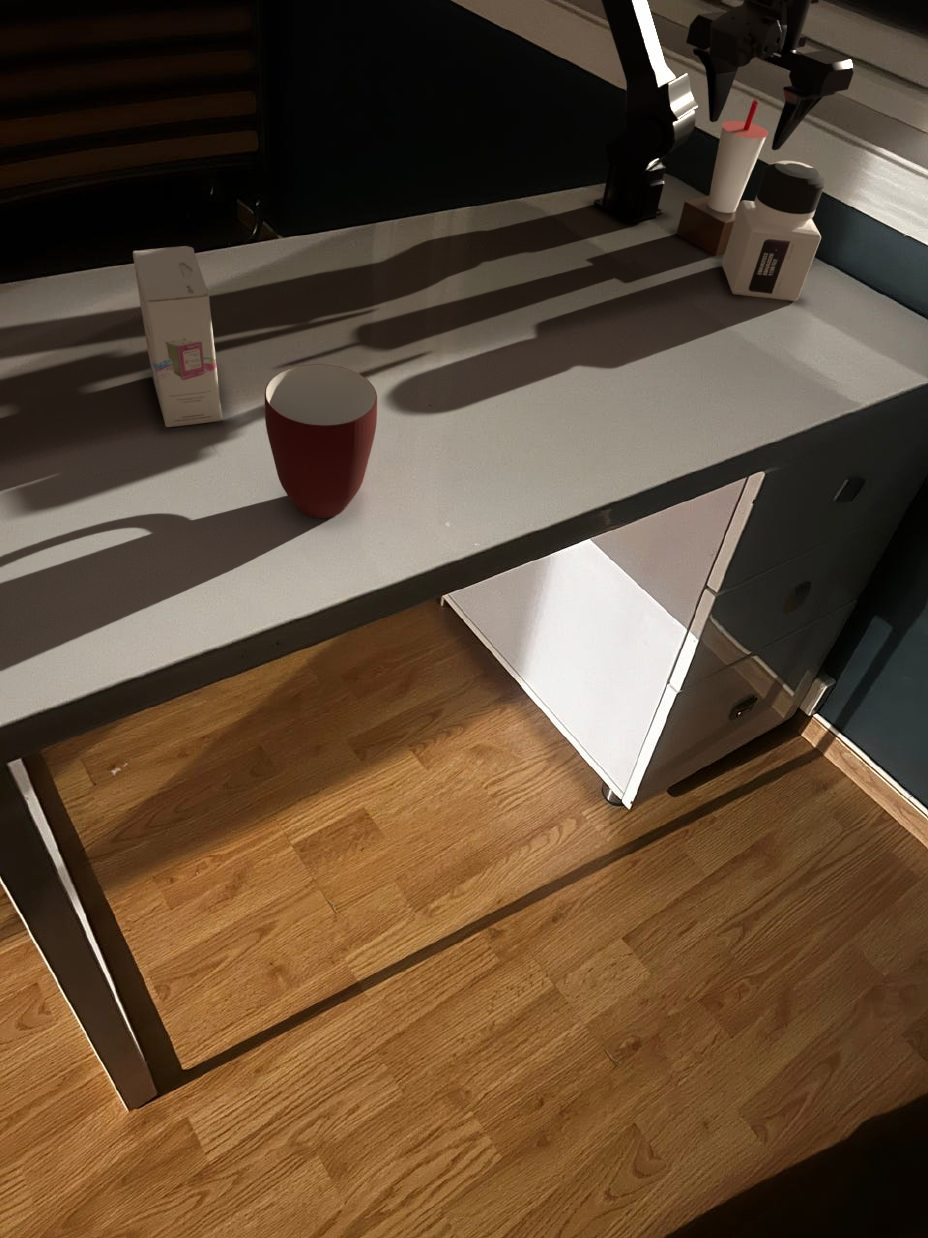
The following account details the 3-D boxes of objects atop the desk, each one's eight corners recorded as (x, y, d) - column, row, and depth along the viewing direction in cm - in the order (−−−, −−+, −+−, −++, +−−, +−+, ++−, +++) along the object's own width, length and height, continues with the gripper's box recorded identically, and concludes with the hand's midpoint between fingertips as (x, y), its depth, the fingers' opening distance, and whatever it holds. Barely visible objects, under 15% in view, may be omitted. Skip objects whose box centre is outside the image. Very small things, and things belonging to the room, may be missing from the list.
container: (798, 302, 111) (841, 186, 101) (731, 295, 110) (769, 178, 101) (783, 271, 116) (823, 158, 107) (720, 263, 116) (755, 150, 106)
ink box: (148, 374, 87) (130, 245, 79) (205, 368, 89) (193, 242, 80) (163, 429, 82) (145, 297, 73) (223, 422, 83) (213, 292, 75)
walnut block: (676, 233, 120) (684, 201, 118) (710, 223, 124) (719, 192, 121) (715, 255, 117) (725, 222, 114) (749, 245, 120) (760, 212, 118)
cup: (751, 216, 117) (786, 108, 108) (712, 216, 115) (743, 108, 107) (731, 197, 120) (762, 91, 112) (692, 197, 119) (721, 90, 110)
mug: (227, 484, 77) (217, 374, 70) (303, 445, 82) (302, 338, 75) (318, 551, 73) (317, 440, 66) (393, 505, 78) (400, 398, 71)
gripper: (671, -44, 101) (637, 116, 112) (815, 7, 92) (763, 176, 103) (739, -49, 107) (700, 104, 118) (882, -2, 97) (825, 160, 109)
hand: (743, 134), depth 112 cm, fingers open, 9 cm apart
